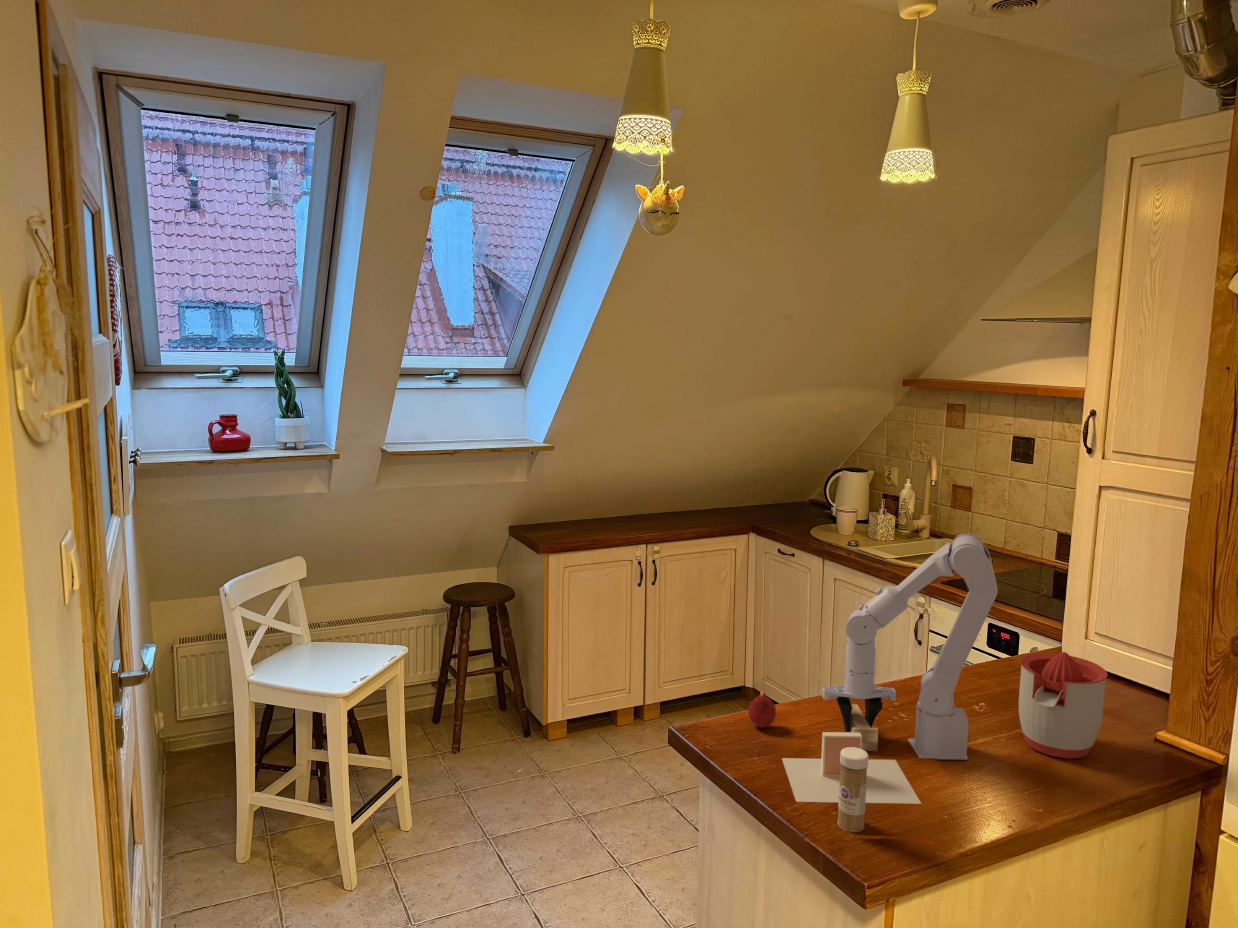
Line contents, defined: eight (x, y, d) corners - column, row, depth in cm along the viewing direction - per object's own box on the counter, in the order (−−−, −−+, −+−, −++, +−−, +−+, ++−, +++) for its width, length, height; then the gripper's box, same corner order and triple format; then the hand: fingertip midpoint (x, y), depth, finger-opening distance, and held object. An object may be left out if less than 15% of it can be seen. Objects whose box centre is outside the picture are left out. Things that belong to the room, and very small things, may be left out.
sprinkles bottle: (832, 827, 147) (835, 752, 145) (844, 816, 151) (847, 743, 149) (857, 837, 145) (861, 761, 143) (869, 826, 148) (873, 751, 146)
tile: (858, 772, 165) (859, 732, 164) (860, 776, 164) (862, 736, 162) (820, 771, 165) (822, 731, 164) (822, 776, 164) (824, 735, 162)
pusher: (862, 726, 186) (863, 704, 185) (877, 753, 174) (878, 729, 173) (838, 726, 186) (839, 704, 185) (851, 752, 174) (853, 728, 173)
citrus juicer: (998, 749, 176) (1005, 654, 173) (1030, 722, 188) (1037, 633, 185) (1082, 776, 165) (1091, 675, 162) (1111, 746, 177) (1119, 652, 174)
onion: (775, 735, 181) (776, 699, 180) (747, 733, 182) (748, 696, 181) (775, 723, 187) (776, 687, 186) (748, 721, 188) (749, 685, 187)
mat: (895, 762, 170) (895, 759, 170) (921, 806, 154) (921, 803, 154) (781, 760, 171) (781, 757, 171) (796, 803, 155) (796, 801, 155)
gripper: (890, 661, 182) (887, 723, 184) (820, 660, 182) (817, 722, 184) (900, 674, 175) (896, 738, 177) (827, 674, 175) (824, 737, 177)
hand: (857, 731), depth 180 cm, fingers open, 3 cm apart
